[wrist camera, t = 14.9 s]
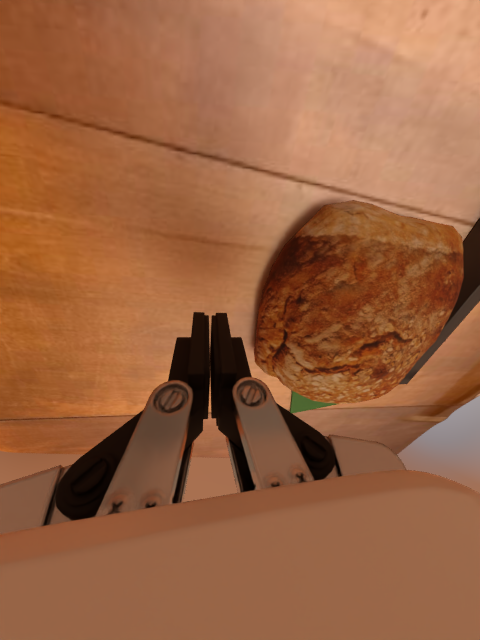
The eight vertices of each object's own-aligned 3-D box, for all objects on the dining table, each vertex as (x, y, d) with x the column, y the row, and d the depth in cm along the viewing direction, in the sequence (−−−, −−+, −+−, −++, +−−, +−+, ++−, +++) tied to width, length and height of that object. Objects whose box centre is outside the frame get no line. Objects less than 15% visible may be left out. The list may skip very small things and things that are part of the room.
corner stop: (371, 148, 16) (415, 134, 12) (520, 182, 19) (587, 178, 16) (290, 368, 29) (301, 389, 26) (386, 365, 33) (407, 384, 29)
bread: (246, 349, 26) (264, 420, 17) (276, 190, 16) (348, 179, 8) (371, 349, 30) (435, 407, 21) (454, 221, 20) (627, 235, 12)
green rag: (293, 378, 31) (294, 379, 30) (361, 365, 32) (362, 366, 31) (289, 412, 36) (290, 413, 36) (348, 400, 37) (349, 401, 37)
